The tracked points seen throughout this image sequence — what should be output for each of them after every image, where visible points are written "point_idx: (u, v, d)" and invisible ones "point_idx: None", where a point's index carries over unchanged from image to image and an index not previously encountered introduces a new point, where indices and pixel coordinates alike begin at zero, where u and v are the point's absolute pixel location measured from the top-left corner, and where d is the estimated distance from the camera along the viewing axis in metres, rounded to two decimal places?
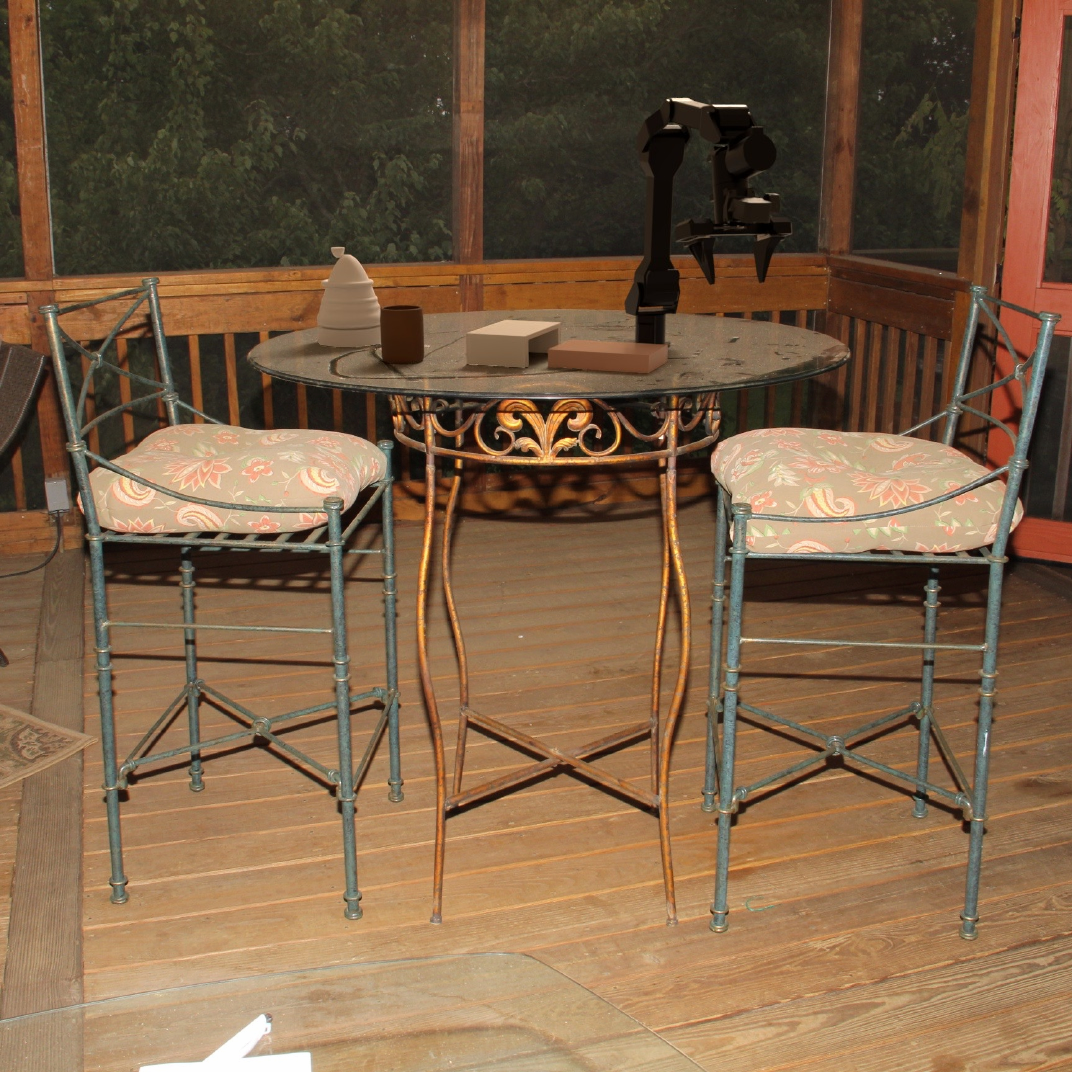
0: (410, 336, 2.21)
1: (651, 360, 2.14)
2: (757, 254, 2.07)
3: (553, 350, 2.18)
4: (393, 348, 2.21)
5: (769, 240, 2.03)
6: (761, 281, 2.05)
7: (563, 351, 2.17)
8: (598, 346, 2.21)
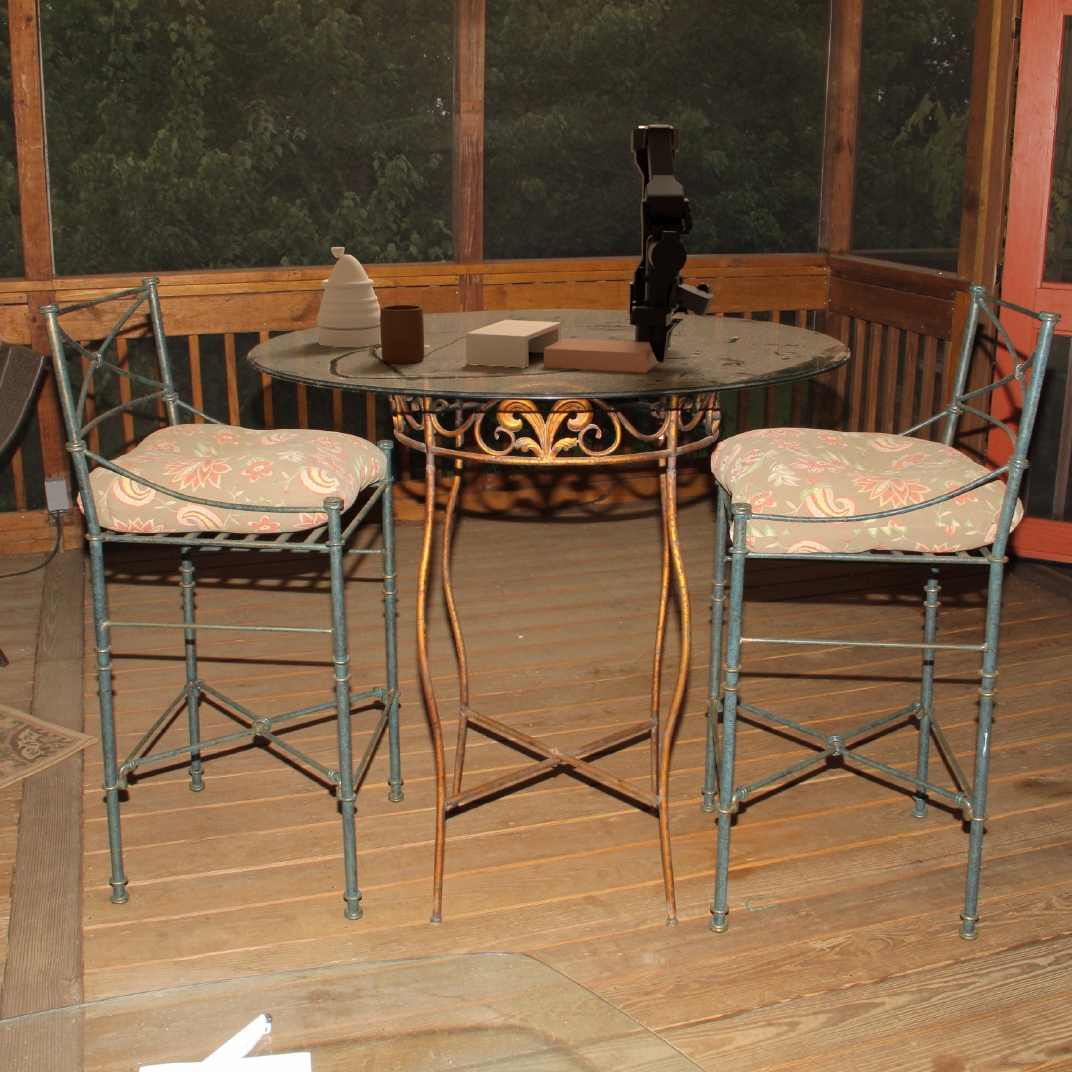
0: (410, 336, 2.21)
1: (647, 358, 2.14)
2: None
3: (549, 349, 2.18)
4: (393, 348, 2.21)
5: (675, 323, 2.16)
6: None
7: (559, 350, 2.17)
8: (593, 345, 2.21)
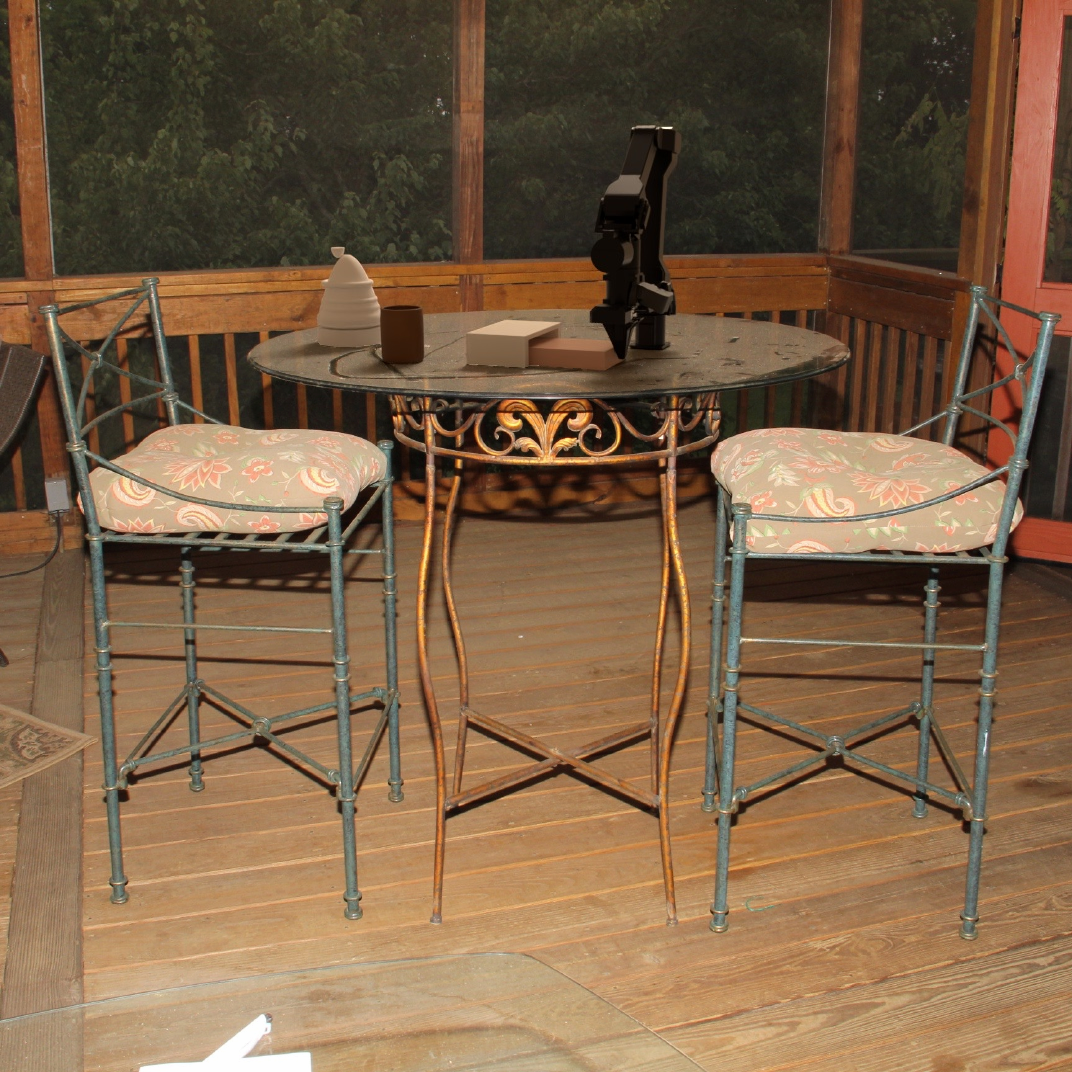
0: (410, 336, 2.21)
1: (607, 356, 2.16)
2: None
3: None
4: (393, 348, 2.21)
5: (636, 321, 2.18)
6: None
7: None
8: (556, 343, 2.24)
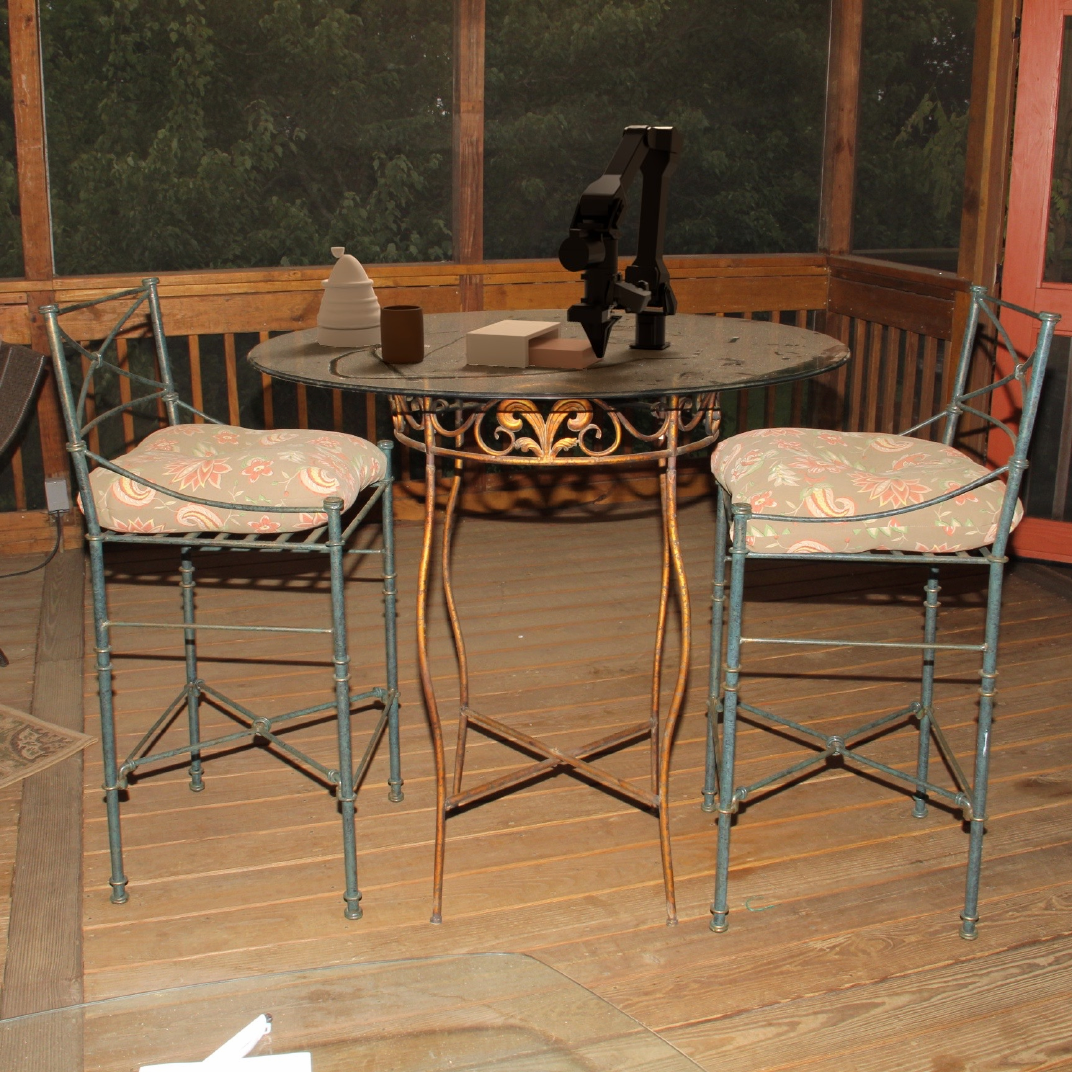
0: (410, 336, 2.21)
1: (584, 355, 2.17)
2: None
3: None
4: (393, 348, 2.21)
5: (614, 320, 2.19)
6: None
7: None
8: (534, 342, 2.25)
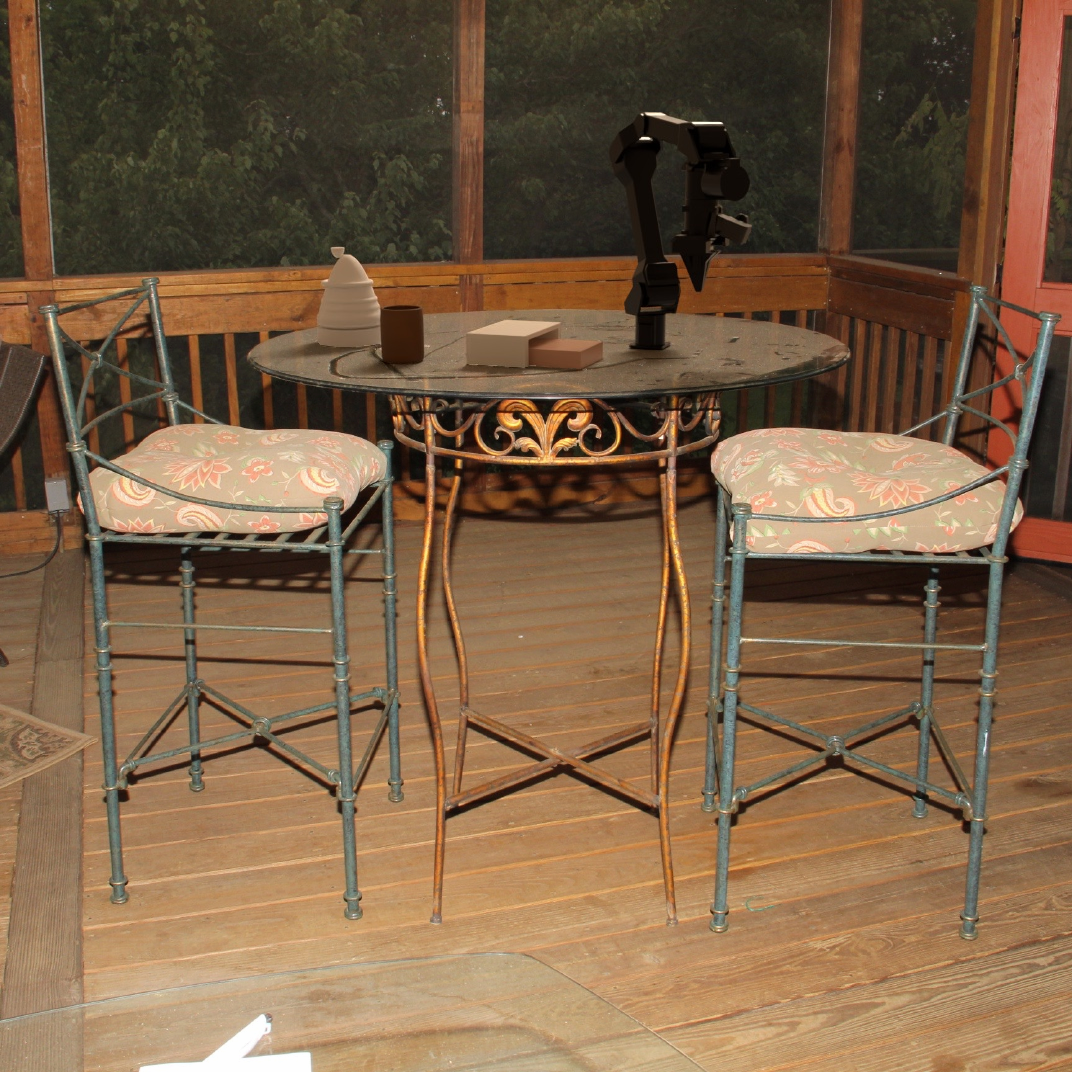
0: (410, 336, 2.21)
1: (583, 356, 2.17)
2: None
3: None
4: (393, 348, 2.21)
5: (713, 254, 2.19)
6: None
7: None
8: (534, 343, 2.25)
